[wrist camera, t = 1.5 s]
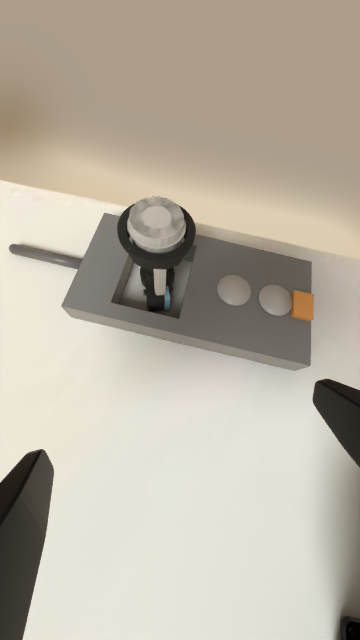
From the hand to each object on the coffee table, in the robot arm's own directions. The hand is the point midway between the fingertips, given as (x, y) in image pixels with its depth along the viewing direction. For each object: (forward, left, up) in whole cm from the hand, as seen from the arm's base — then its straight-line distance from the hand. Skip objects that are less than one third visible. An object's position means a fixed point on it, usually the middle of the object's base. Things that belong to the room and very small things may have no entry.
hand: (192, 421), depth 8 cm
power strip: (+5, -12, -13) cm, 19 cm away
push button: (+4, -12, -14) cm, 19 cm away
